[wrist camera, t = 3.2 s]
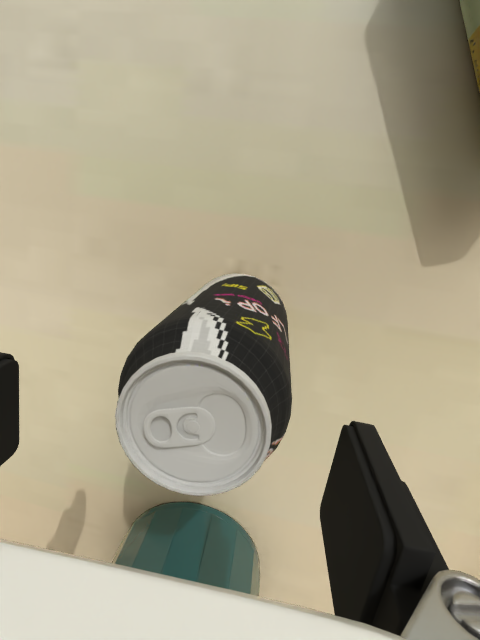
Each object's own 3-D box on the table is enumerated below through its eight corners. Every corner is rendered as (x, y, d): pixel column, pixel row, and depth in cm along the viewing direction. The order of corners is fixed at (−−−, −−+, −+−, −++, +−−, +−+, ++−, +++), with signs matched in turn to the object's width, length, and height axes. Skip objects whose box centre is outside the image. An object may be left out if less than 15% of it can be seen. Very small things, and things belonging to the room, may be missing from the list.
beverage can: (187, 273, 21) (77, 336, 10) (285, 269, 21) (291, 331, 9) (196, 364, 23) (109, 511, 11) (288, 363, 22) (295, 518, 11)
